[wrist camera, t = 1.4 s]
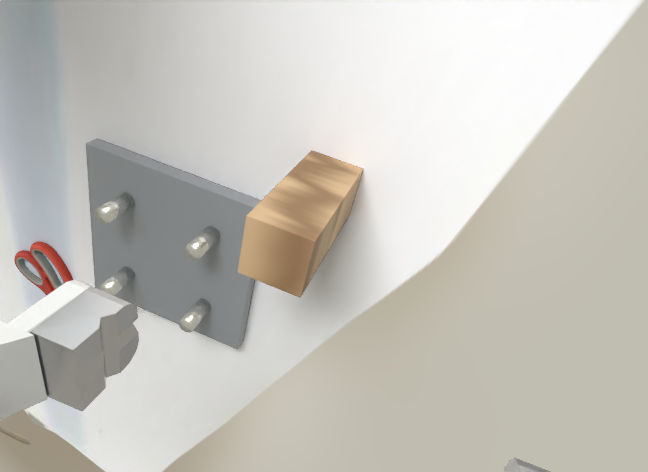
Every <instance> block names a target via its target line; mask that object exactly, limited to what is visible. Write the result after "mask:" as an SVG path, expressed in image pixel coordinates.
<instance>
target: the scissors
mask: <svg viewBox="0 0 648 472" xmlns="http://www.w3.org/2000/svg"><path fill="white" fill-rule="evenodd" d="M43 254H45V255H46V256H47V257H48V259H49V260H50V261H51V262H52V264H53V265H54V266H55V268H56V269H57V271H58V272H59V274H60V276H61V278H62V280H63V282H64V283H66V282H68V281H72V280H73V279H72V276H71V274H70V272H69V270H68V268H67V266H66V265H65V263H64V262H63V260H62V259H61V257H60V256H59V255H58V254H57V252H56V251H55V250H54V249H53V248H52V247H51V246H49V245H48V244H46V243H44V242H36V243H34V244H32V246H31V248H30V252H29V251H20V252H18V253H17V254H16V256H15V264H16V266H17V268H18V269H19V270H20V272H21V273H22V274H23V275H24V276H25V277H26V278H27V279H28V280H30V281H31V282H32V283H33V284H35V285H36V286H38V287H39V288H40V289H41V290H42V291H43V292H44V293H45V294H46V295H48V294H50V293H51V292H53V291H54V290H55V289H57V288H58V287H60V286H61V285H62V284H61V283H60V281H59V279H58V277H57V275H56V273H55V271H54V269H53V268H52V266H51V265H50V263H49V262H48V260H47V259H46V257H45V256H44V255H43ZM23 259H25V260H27V261H28V262H30V263H31V264H32V265H33V267H34V268H35V269H36V270H37V272H38V274H39V275H40V278H41V279H40V278H39V277H37V276H36V275H34V274H33V273H32V272H31V271H30V270H29V269H28V268H27V267H26V265H25V264H24V261H23Z"/></svg>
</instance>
